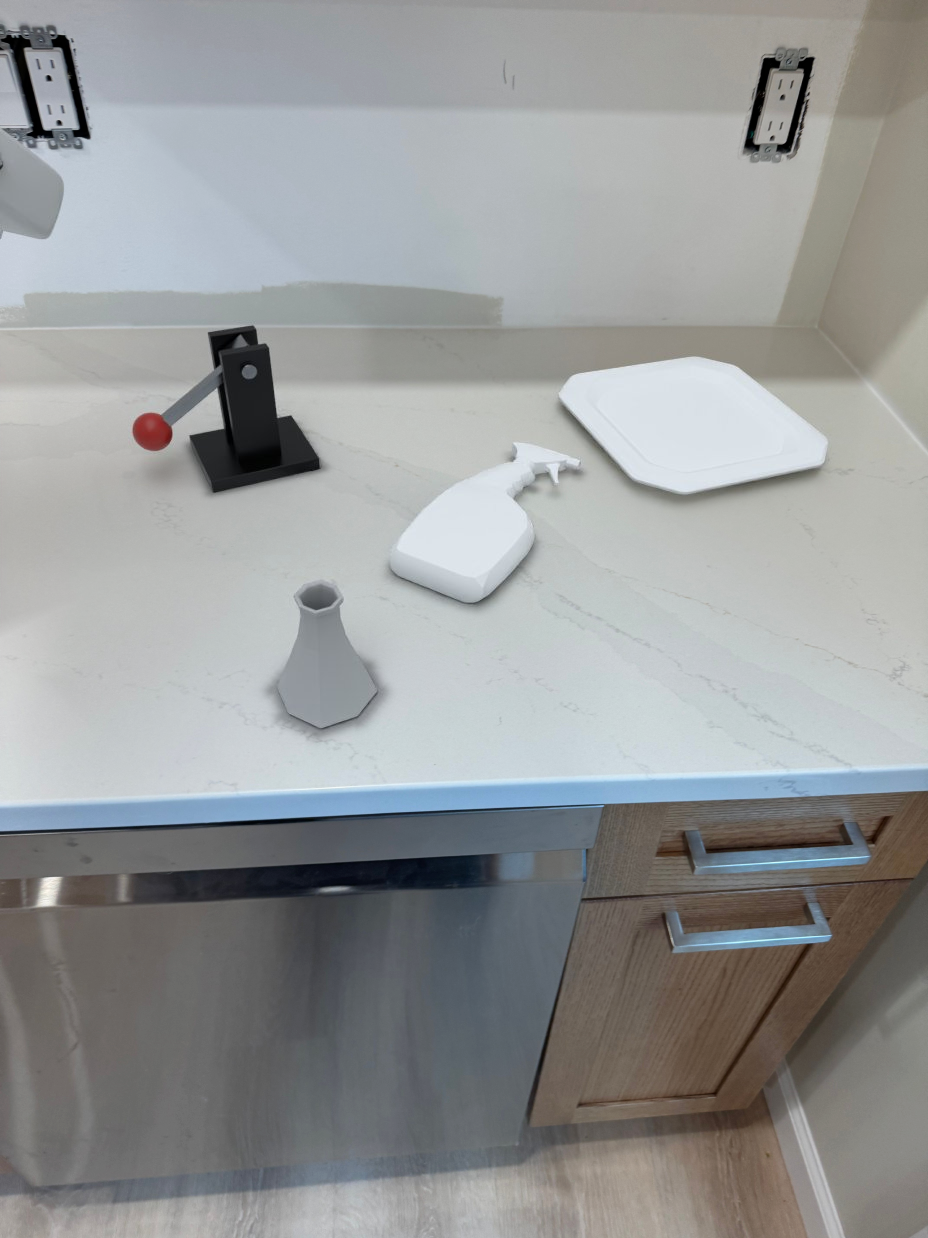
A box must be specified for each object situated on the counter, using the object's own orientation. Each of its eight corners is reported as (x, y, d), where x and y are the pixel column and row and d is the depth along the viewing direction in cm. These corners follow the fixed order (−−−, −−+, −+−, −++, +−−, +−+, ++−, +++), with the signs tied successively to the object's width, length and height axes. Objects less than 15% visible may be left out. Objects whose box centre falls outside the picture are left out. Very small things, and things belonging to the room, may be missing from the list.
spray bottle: (377, 571, 73) (499, 447, 89) (486, 615, 70) (591, 478, 86) (377, 545, 71) (501, 423, 87) (488, 589, 68) (596, 454, 84)
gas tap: (213, 492, 80) (189, 371, 71) (191, 445, 86) (166, 328, 77) (320, 468, 84) (310, 351, 75) (292, 425, 90) (280, 310, 81)
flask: (335, 643, 67) (328, 547, 60) (394, 693, 63) (393, 599, 56) (260, 688, 63) (243, 592, 56) (318, 745, 59) (307, 650, 52)
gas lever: (156, 464, 79) (127, 441, 76) (148, 445, 81) (120, 422, 78) (269, 369, 77) (245, 342, 75) (258, 353, 80) (234, 326, 77)
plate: (648, 515, 81) (652, 497, 80) (541, 394, 97) (543, 377, 96) (845, 473, 89) (853, 455, 87) (715, 367, 105) (719, 350, 103)
